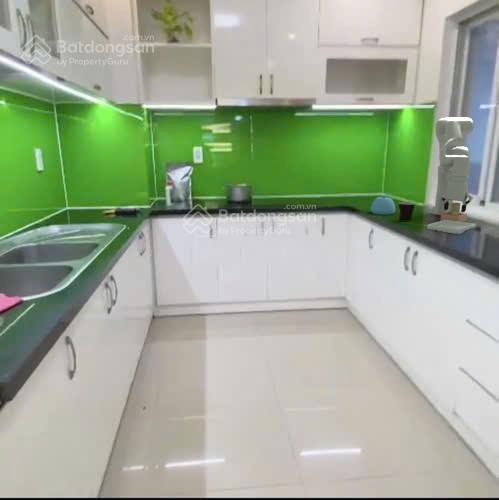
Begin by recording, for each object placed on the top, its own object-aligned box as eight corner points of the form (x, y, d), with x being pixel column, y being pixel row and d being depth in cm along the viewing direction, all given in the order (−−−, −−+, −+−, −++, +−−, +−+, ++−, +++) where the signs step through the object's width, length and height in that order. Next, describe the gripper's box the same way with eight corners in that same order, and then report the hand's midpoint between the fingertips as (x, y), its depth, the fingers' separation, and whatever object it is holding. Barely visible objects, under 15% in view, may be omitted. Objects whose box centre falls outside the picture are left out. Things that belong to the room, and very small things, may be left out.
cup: (440, 222, 216) (441, 213, 215) (448, 220, 222) (449, 211, 220) (457, 225, 209) (459, 216, 207) (465, 222, 214) (466, 213, 213)
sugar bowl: (397, 212, 249) (398, 194, 246) (392, 216, 236) (394, 197, 233) (373, 210, 256) (374, 193, 253) (367, 214, 244) (369, 195, 241)
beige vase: (446, 220, 215) (448, 202, 213) (450, 219, 218) (453, 202, 216) (455, 222, 212) (458, 204, 209) (459, 220, 215) (462, 203, 212)
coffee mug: (400, 218, 228) (401, 201, 225) (415, 220, 222) (417, 203, 220) (393, 221, 219) (394, 204, 216) (408, 223, 214) (410, 205, 211)
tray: (427, 229, 200) (427, 224, 199) (445, 224, 212) (445, 219, 211) (458, 234, 188) (458, 229, 187) (475, 228, 200) (476, 224, 199)
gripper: (439, 178, 213) (435, 209, 218) (472, 180, 200) (467, 213, 205) (445, 177, 218) (442, 208, 222) (478, 179, 205) (474, 212, 209)
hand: (454, 210), depth 213 cm, fingers open, 8 cm apart
